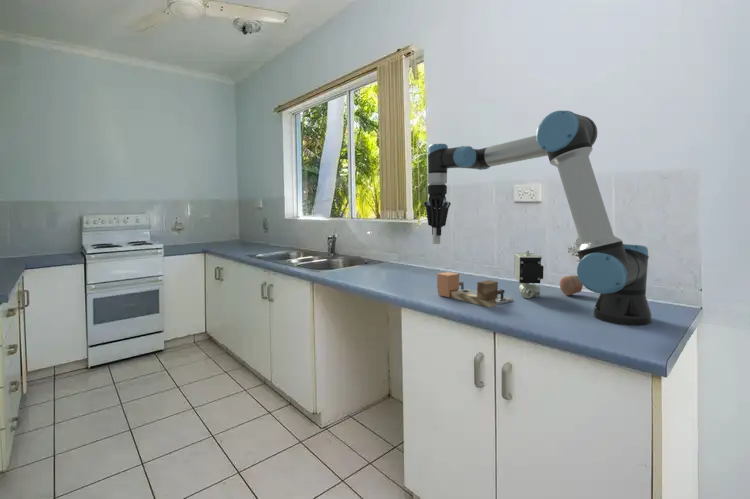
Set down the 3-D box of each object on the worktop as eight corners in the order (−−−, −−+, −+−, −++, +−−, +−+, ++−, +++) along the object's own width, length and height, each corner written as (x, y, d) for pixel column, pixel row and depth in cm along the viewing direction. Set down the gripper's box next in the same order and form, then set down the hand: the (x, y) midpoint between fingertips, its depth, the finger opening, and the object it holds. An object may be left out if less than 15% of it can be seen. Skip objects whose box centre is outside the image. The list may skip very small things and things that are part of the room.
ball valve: (544, 302, 144) (546, 253, 142) (520, 301, 146) (521, 253, 144) (535, 291, 161) (536, 248, 159) (513, 291, 163) (514, 248, 161)
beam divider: (508, 303, 144) (509, 280, 143) (487, 308, 137) (487, 284, 136) (457, 291, 164) (458, 271, 163) (437, 295, 158) (437, 274, 157)
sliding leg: (468, 293, 159) (468, 272, 158) (448, 297, 153) (448, 275, 152) (457, 290, 164) (457, 270, 163) (437, 294, 158) (437, 273, 157)
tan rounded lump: (581, 294, 156) (582, 274, 155) (582, 298, 149) (583, 277, 148) (559, 292, 159) (560, 272, 158) (559, 296, 152) (559, 276, 151)
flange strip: (513, 301, 147) (513, 298, 147) (497, 304, 142) (497, 301, 142) (468, 290, 165) (468, 288, 165) (452, 294, 160) (452, 291, 160)
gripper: (456, 184, 154) (454, 244, 157) (433, 185, 165) (432, 241, 168) (442, 183, 150) (440, 245, 153) (419, 184, 160) (418, 242, 163)
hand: (436, 243), depth 160 cm, fingers closed
